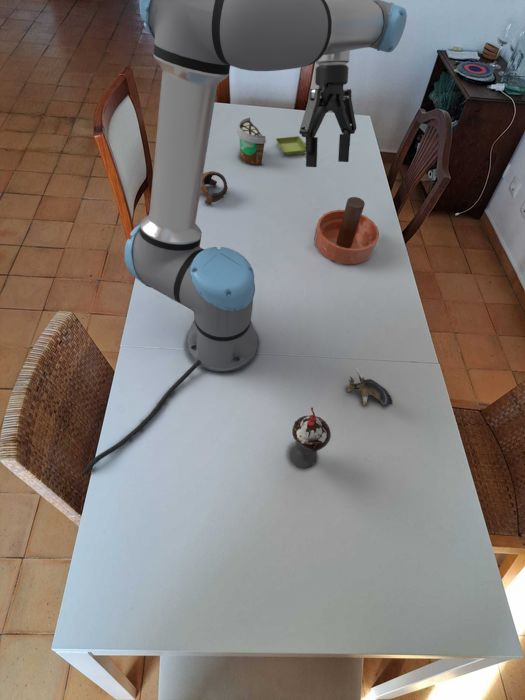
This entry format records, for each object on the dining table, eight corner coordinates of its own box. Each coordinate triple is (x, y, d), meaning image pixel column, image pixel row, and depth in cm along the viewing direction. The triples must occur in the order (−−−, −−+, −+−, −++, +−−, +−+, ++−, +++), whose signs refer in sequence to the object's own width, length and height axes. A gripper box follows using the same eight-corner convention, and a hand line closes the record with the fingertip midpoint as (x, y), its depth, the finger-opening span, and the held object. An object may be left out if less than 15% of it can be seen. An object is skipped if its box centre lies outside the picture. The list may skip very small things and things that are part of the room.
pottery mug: (225, 185, 137) (231, 172, 129) (220, 214, 135) (227, 202, 127) (185, 174, 133) (190, 159, 125) (180, 204, 131) (184, 190, 124)
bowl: (368, 272, 118) (374, 256, 114) (307, 257, 120) (311, 240, 116) (376, 234, 128) (382, 218, 124) (320, 220, 130) (324, 204, 125)
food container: (230, 150, 148) (231, 119, 140) (247, 147, 149) (249, 116, 141) (245, 170, 141) (247, 139, 133) (263, 167, 143) (266, 136, 135)
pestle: (350, 250, 122) (363, 209, 111) (334, 246, 122) (345, 205, 112) (353, 240, 124) (365, 199, 114) (337, 236, 125) (348, 195, 114)
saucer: (274, 143, 152) (275, 137, 150) (298, 141, 154) (299, 135, 152) (282, 158, 147) (283, 152, 146) (307, 155, 149) (308, 149, 148)
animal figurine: (345, 409, 92) (391, 416, 90) (348, 376, 90) (395, 382, 88) (347, 394, 99) (390, 400, 97) (351, 363, 97) (394, 369, 95)
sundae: (298, 432, 89) (311, 393, 77) (326, 454, 87) (344, 417, 75) (278, 456, 86) (288, 419, 74) (306, 479, 84) (321, 445, 72)
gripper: (349, 68, 115) (343, 159, 125) (284, 63, 99) (284, 168, 109) (375, 66, 110) (367, 160, 120) (311, 61, 94) (308, 170, 104)
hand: (327, 164), depth 115 cm, fingers open, 13 cm apart
